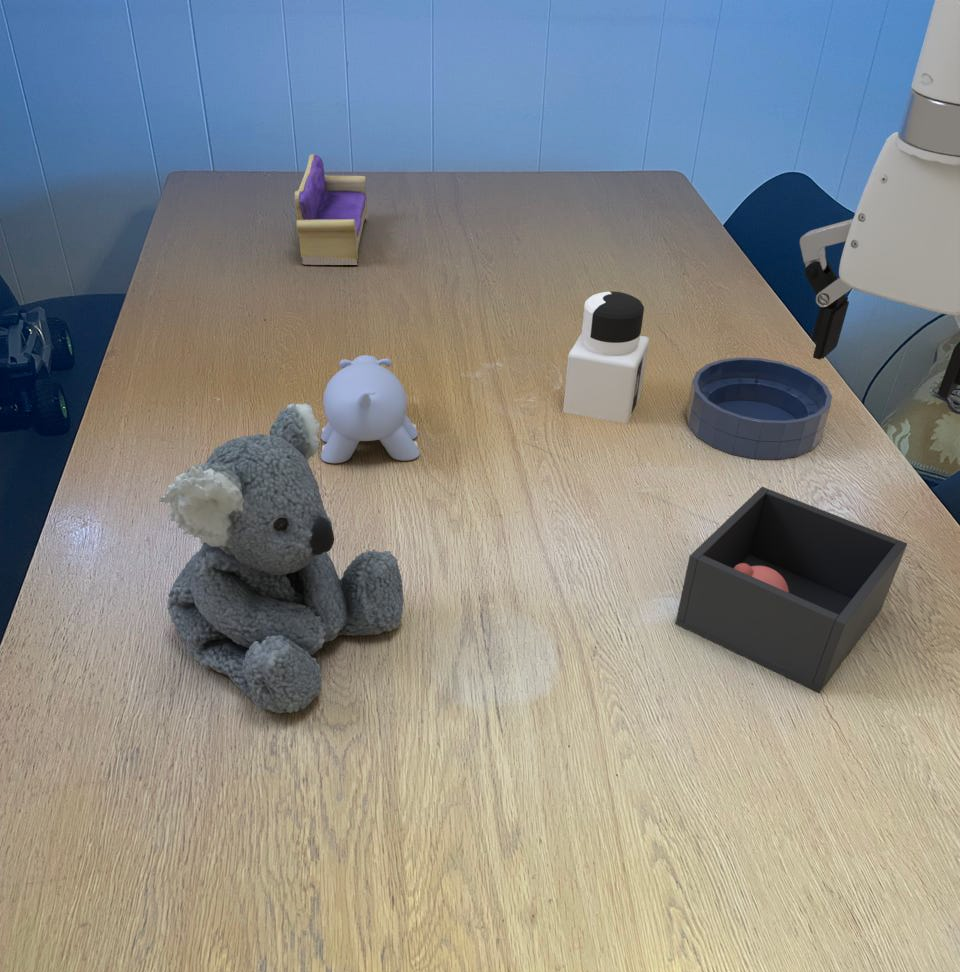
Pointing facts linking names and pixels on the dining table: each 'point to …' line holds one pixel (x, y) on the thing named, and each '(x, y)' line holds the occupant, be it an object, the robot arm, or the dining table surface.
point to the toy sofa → (330, 212)
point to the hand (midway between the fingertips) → (884, 371)
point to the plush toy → (764, 575)
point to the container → (607, 359)
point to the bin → (789, 586)
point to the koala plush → (271, 567)
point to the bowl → (758, 408)
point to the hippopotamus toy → (366, 411)
